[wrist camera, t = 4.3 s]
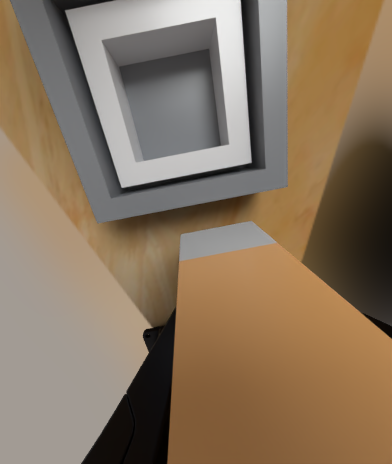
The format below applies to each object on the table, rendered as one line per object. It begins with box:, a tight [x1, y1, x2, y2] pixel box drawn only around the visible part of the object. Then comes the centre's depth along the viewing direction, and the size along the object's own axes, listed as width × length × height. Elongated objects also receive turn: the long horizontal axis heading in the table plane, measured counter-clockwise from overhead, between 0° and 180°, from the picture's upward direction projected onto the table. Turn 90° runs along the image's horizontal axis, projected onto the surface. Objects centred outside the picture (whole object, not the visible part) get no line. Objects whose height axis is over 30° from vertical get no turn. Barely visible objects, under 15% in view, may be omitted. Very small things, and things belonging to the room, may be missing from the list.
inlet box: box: [10, 0, 288, 223], centre depth 10 cm, size 11×11×4 cm
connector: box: [167, 221, 392, 464], centre depth 6 cm, size 4×4×10 cm
